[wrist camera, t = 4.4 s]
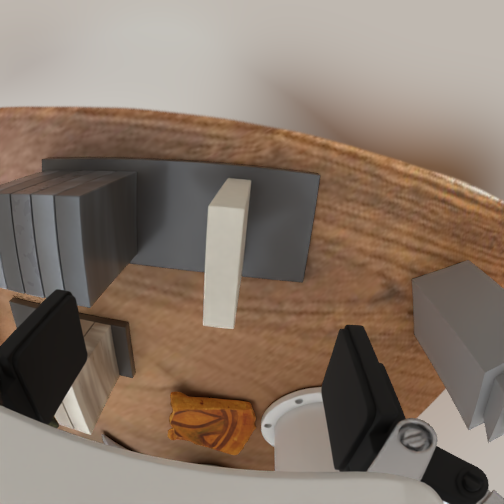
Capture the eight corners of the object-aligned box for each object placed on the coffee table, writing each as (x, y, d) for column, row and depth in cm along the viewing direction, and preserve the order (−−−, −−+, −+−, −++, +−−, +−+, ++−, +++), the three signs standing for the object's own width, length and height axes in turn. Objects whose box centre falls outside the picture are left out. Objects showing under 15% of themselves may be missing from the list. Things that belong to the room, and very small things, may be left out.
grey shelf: (318, 173, 24) (351, 201, 15) (301, 277, 28) (318, 350, 18) (47, 158, 24) (-29, 179, 15) (53, 249, 28) (-9, 296, 18)
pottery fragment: (164, 401, 30) (257, 431, 29) (180, 374, 34) (265, 400, 33) (164, 447, 34) (240, 472, 33) (177, 422, 38) (248, 445, 37)
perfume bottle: (468, 259, 27) (586, 370, 10) (466, 314, 29) (554, 430, 12) (411, 279, 28) (516, 421, 11) (414, 334, 30) (488, 472, 13)
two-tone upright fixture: (128, 322, 30) (88, 390, 21) (135, 372, 33) (105, 439, 24) (13, 297, 30) (-37, 343, 21) (27, 343, 33) (-14, 392, 23)
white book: (251, 179, 24) (245, 208, 15) (242, 265, 26) (233, 329, 18) (227, 177, 24) (207, 205, 15) (220, 263, 26) (202, 326, 18)
